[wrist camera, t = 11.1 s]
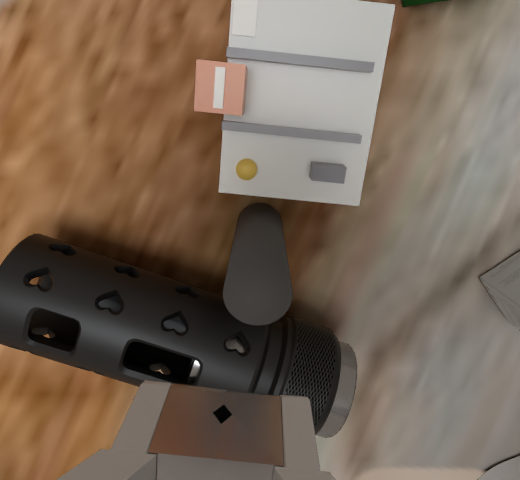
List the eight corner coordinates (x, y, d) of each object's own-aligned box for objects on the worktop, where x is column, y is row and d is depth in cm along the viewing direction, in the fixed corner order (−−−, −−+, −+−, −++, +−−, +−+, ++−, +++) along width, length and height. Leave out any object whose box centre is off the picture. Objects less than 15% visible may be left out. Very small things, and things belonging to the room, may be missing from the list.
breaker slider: (247, 69, 29) (245, 64, 25) (244, 113, 30) (241, 115, 26) (205, 64, 29) (195, 58, 25) (202, 109, 30) (193, 110, 26)
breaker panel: (379, 15, 32) (403, -2, 26) (348, 195, 36) (363, 211, 31) (236, 0, 31) (230, -21, 26) (223, 182, 36) (216, 196, 30)
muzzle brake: (60, 213, 37) (-12, 254, 27) (346, 312, 40) (373, 381, 30) (40, 302, 40) (-33, 369, 30) (308, 388, 43) (322, 474, 33)
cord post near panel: (284, 205, 36) (296, 265, 23) (279, 247, 38) (288, 328, 24) (239, 201, 36) (225, 259, 23) (235, 243, 38) (220, 322, 24)
